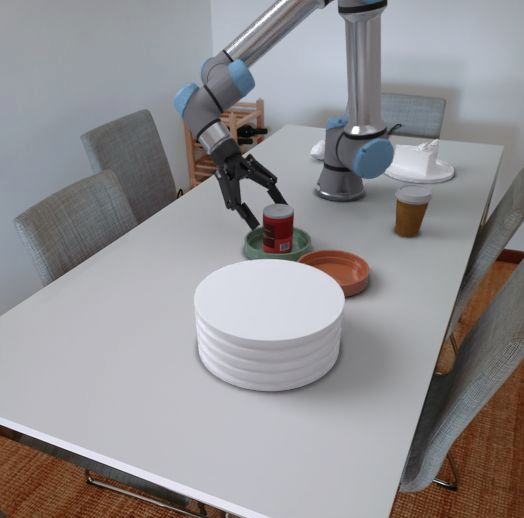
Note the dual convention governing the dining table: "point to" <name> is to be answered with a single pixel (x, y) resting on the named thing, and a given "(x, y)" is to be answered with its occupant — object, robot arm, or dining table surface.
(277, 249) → the canned food
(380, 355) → the dining table surface
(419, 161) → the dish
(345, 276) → the terracotta bowl
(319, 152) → the roll
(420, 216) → the disposable coffee cup
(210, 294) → the plate stack
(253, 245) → the sage bowl
